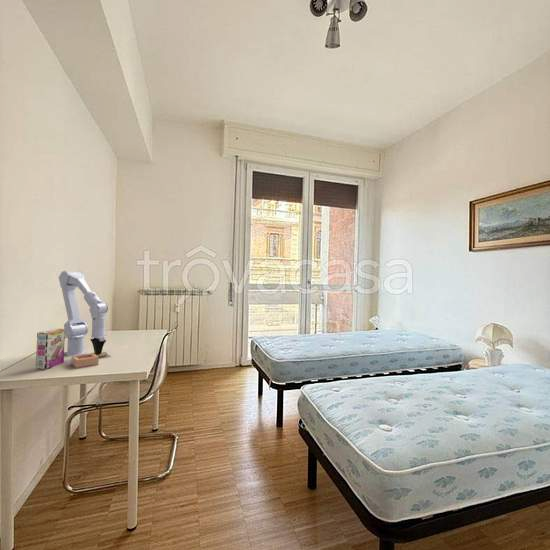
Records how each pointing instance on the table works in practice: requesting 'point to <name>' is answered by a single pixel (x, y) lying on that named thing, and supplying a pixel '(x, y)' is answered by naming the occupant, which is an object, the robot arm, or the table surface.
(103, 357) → the mat
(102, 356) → the lid
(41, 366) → the candy bar box
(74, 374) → the table surface
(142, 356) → the table surface
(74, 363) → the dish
